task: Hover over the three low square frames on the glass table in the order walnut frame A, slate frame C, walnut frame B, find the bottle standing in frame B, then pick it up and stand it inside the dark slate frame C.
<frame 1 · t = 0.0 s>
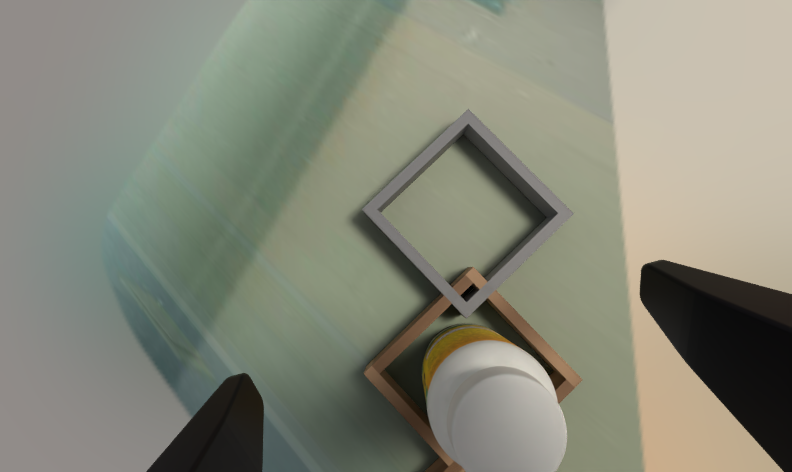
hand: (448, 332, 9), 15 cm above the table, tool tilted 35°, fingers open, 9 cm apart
frame c: (462, 215, 24), on the table
supplement bottle: (466, 367, 24), resting in frame b
frame b: (467, 368, 24), on the table
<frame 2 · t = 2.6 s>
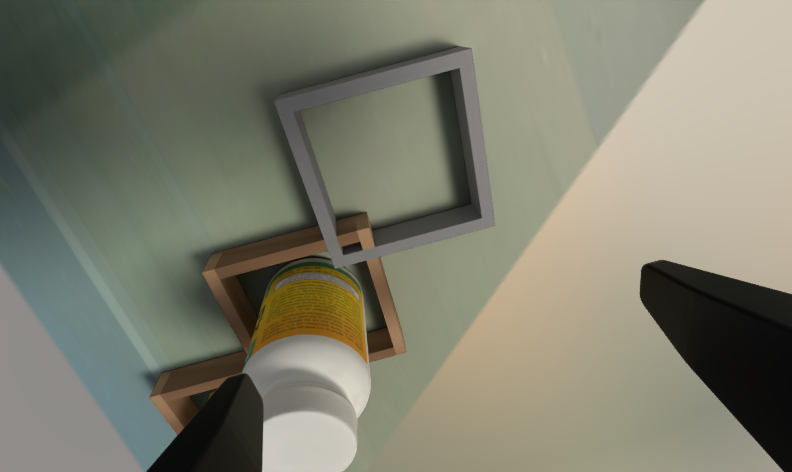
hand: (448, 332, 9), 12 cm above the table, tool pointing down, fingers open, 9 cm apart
frame a: (256, 401, 26), on the table
frame c: (391, 158, 20), on the table
supplement bottle: (315, 293, 23), resting in frame b
frame b: (315, 295, 23), on the table
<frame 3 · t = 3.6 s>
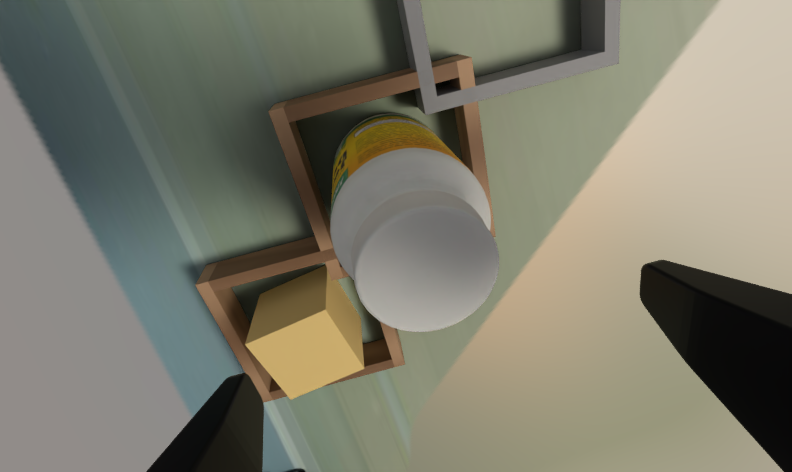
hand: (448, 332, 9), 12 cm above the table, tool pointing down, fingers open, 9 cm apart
frame a: (311, 307, 22), on the table
supplement bottle: (389, 166, 20), resting in frame b
frame b: (389, 168, 19), on the table
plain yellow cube: (311, 305, 23), resting in frame a
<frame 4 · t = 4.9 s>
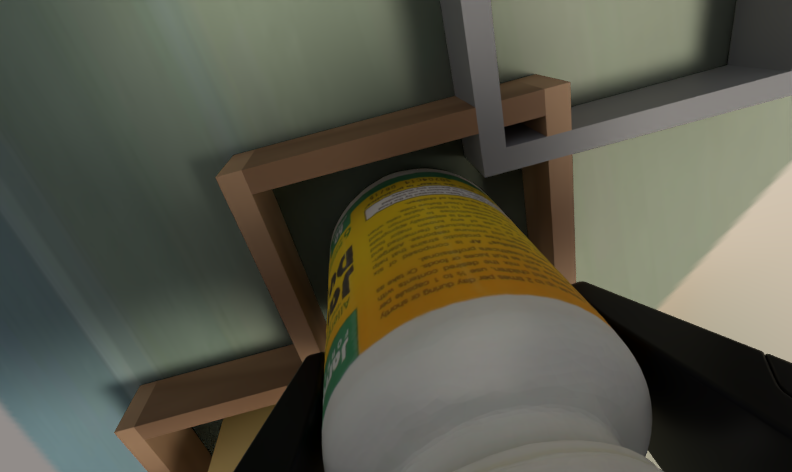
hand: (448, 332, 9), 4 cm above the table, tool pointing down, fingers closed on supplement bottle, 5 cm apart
frame a: (299, 430, 16), on the table
supplement bottle: (415, 243, 13), resting in frame b, touching gripper
frame b: (416, 246, 13), on the table
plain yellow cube: (300, 428, 16), resting in frame a
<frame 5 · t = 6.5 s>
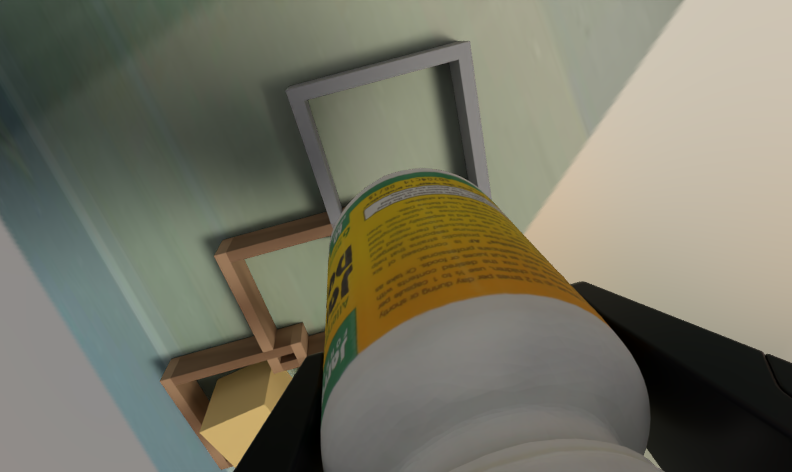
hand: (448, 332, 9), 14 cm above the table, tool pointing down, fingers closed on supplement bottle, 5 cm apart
frame a: (262, 388, 27), on the table
frame c: (394, 147, 21), on the table
supplement bottle: (414, 243, 13), point 9 cm above the table, touching gripper
frame b: (320, 281, 24), on the table
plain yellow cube: (262, 386, 27), resting in frame a
when the fingers open (5 cm above the table, at t = 8.4 s): supplement bottle drops 1 cm, resting in frame c.
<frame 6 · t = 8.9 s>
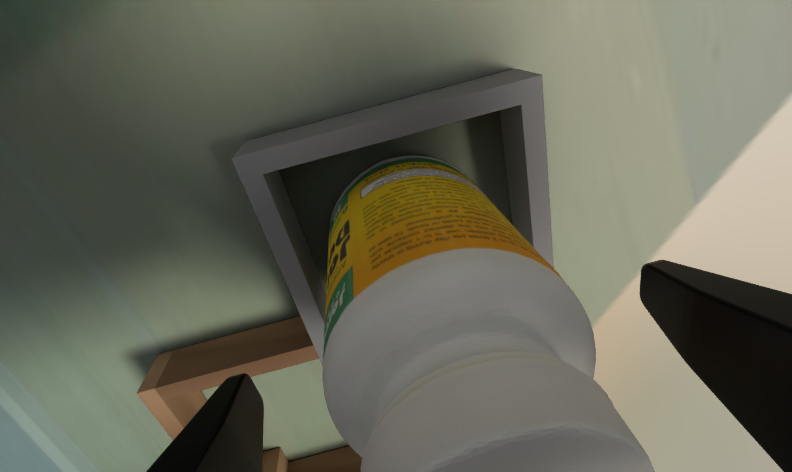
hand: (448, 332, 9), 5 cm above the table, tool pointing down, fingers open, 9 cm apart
frame c: (410, 225, 14), on the table
supplement bottle: (407, 224, 14), resting in frame c
frame b: (303, 399, 17), on the table
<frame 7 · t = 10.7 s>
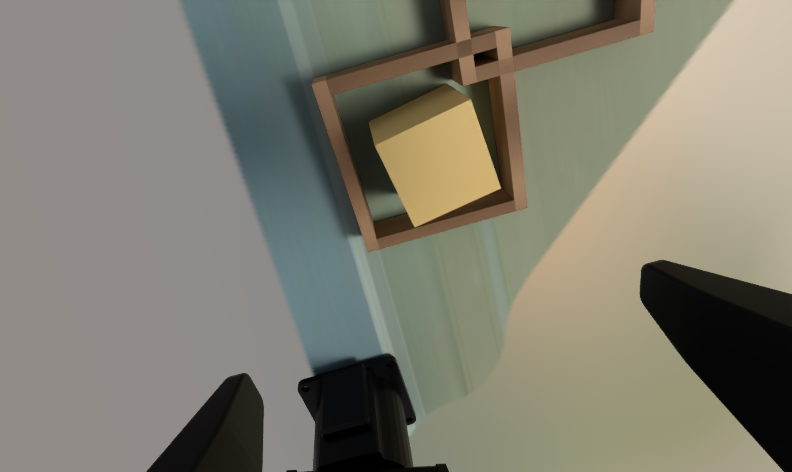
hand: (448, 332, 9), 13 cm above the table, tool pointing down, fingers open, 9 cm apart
frame a: (423, 141, 20), on the table
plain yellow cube: (423, 140, 20), resting in frame a
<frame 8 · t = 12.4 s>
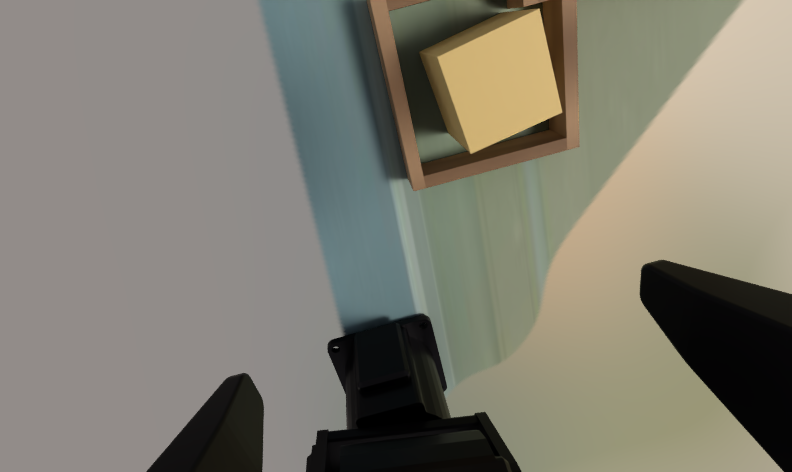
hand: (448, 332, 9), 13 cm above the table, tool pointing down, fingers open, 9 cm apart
frame a: (473, 76, 19), on the table
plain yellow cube: (472, 75, 19), resting in frame a
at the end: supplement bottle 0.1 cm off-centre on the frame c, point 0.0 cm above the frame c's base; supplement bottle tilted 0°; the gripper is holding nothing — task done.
